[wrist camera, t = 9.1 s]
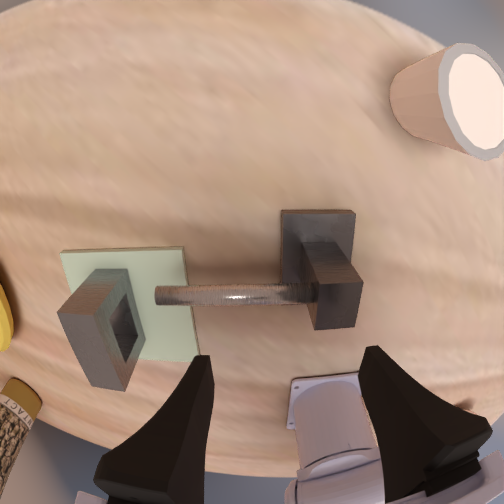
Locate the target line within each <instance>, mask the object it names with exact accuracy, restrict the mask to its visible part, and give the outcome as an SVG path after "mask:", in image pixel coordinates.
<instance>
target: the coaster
mask: <svg viewBox="0 0 504 504" xmlns="http://www.w3.org/2000/svg"><path fill="white" fill-rule="evenodd" d="M59 254H60V257H61V261H62V264H63V268H64V271H65V275H66V278H67V281H68V284H69V288H70V291H71V294H73V293H74V292H75V291H76V289H77V288H78V287H79V286H80V285H81V284H82V283H83V282H84V281H85V279H86V278H87V277H88V276H89V275H90V274H91V273H92V272H93V271H94V270H95V269H128V272H129V277H130V281H131V285H132V290H133V294H134V298H135V302H136V305H137V309H138V313H139V317H140V320H141V324H142V327H143V331H144V334H145V337H146V341H145V343H144V346H143V348H142V350H141V353H140V355H139V358H138V359H146V360H159V361H176V362H192V360H193V358H194V357H195V356H196V355H200V352H199V346H198V341H197V335H196V330H195V324H194V318H193V311H192V306H157V305H156V303H155V298H154V292H155V288H156V286H157V285H188V278H187V271H186V263H185V255H184V247H154V248H123V249H93V250H65V251H62V252H61V253H59Z"/></svg>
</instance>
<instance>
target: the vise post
mask: <svg viewBox="0 0 504 504" xmlns="http://www.w3.org/2000/svg"><path fill="white" fill-rule="evenodd" d="M355 218H356V214H355V213H354V212H353V211H352V210H282V222H281V275H280V284H246V285H157V286H156V288H155V292H154V298H155V303H156V305H157V306H249V305H295V304H307V307H308V310H309V313H310V317H311V320H312V324H313V327H314V330H326V329H339V328H350V327H355V323H356V318H357V313H358V308H359V303H360V298H361V293H362V287H363V281H362V279H361V278H360V276H359V275H358V273H357V272H356V270H355V269H354V267H353V266H352V264H351V255H352V247H353V238H354V229H355Z"/></svg>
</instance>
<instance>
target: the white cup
mask: <svg viewBox="0 0 504 504" xmlns="http://www.w3.org/2000/svg"><path fill="white" fill-rule="evenodd" d="M389 100H390V104H391V107H392V111H393V114H394V116H395V118H396V119H397V121H398V122H399V124H400V125H401V127H402V128H403V129H405V130H406V131H407V132H408V133H410V134H411V135H412V136H415V137H418V138H422V139H425V140H428V141H431V142H434V143H437V144H440V145H443V146H446V147H449V148H452V149H454V150H457V151H460V152H462V153H465V154H468V155H470V156H473V157H476V158H478V159H481V160H484V161H487V160H491V159H495V158H498V157H499V156H500V155H501V154H502V153H503V152H504V74H503V72H502V70H501V69H500V67H499V66H498V65H497V64H496V62H495V61H494V60H493V59H492V58H491V56H490V55H489V54H488V53H486V52H485V51H483V50H482V49H480V48H478V47H477V46H475V45H473V44H465V43H456V44H454V45H452V46H450V47H447V48H445V49H443V50H441V51H439V52H437V53H435V54H432V55H430V56H428V57H426V58H424V59H422V60H420V61H418V62H416V63H414V64H412V65H410V66H408V67H406V68H404V69H403V70H402V71H400V72H399V73H397V74H396V75H395V77H394V79H393V81H392V83H391V85H390V99H389Z"/></svg>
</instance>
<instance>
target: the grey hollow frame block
mask: <svg viewBox="0 0 504 504" xmlns="http://www.w3.org/2000/svg"><path fill="white" fill-rule="evenodd" d="M57 314H58V317H59V319H60V322H61V324H62V326H63V329H64V331H65V333H66V336H67V338H68V340H69V342H70V344H71V347H72V349H73V351H74V353H75V355H76V357H77V359H78V361H79V363H80V365H81V367H82V369H83V371H84V373H85V375H86V377H87V378H88V380H89V382H90V384H91V386H94V387H99V388H105V389H111V390H117V391H123V392H125V391H126V388H127V386H128V383H129V380H130V378H131V375H132V373H133V370H134V368H135V365H136V363H137V360H138V358H139V355H140V353H141V350H142V348H143V346H144V343H145V341H146V337H145V334H144V331H143V327H142V324H141V320H140V317H139V313H138V309H137V305H136V302H135V298H134V294H133V290H132V285H131V281H130V277H129V272H128V269H95V270H94V271H93V272H92V273H91V274H90V275H89V276H88V277H87V278H86V279H85V281H84V282H83V283H82V284H81V285H80V286H79V287H78V288H77V289H76V291H75V292H74V293H73V294H72V295H71V296H70V297H69V299H68V300H67V301H66V302H65V303H64V304H63V306H62V307H61V308H60V309H59V310H58V311H57Z"/></svg>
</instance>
